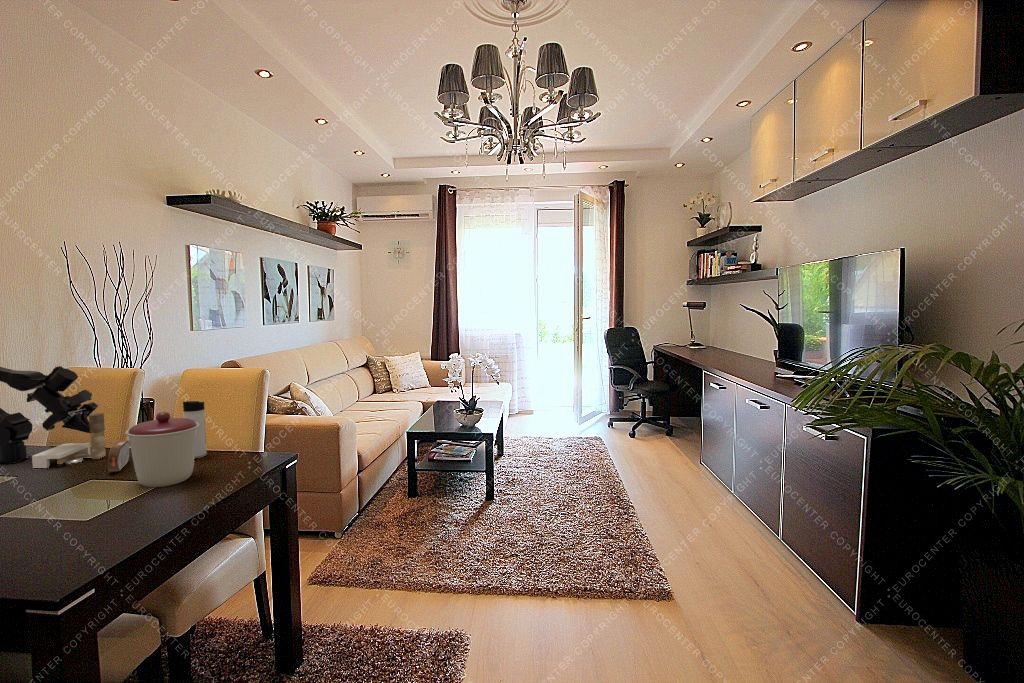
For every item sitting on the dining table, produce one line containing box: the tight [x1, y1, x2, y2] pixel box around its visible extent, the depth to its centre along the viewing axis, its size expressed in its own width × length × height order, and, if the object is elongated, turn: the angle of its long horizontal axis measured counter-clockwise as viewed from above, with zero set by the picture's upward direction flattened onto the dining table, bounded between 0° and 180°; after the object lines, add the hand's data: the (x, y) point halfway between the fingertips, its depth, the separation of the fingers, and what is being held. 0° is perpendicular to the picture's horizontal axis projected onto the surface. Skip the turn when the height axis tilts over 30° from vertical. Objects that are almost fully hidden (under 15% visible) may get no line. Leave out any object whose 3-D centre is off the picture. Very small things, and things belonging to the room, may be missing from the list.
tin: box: [107, 439, 131, 473], centre depth 162 cm, size 15×3×8 cm, turn 25°
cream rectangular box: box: [31, 442, 92, 469], centre depth 168 cm, size 8×14×4 cm, turn 8°
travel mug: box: [182, 400, 208, 458], centre depth 173 cm, size 6×7×20 cm
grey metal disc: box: [65, 457, 84, 465], centre depth 166 cm, size 4×4×1 cm
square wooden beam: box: [56, 412, 107, 465], centre depth 168 cm, size 9×9×15 cm
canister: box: [124, 411, 200, 488], centre depth 150 cm, size 18×18×21 cm
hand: (92, 432), depth 171 cm, fingers closed, pressing on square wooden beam
